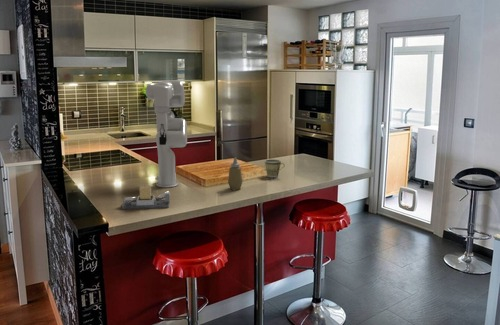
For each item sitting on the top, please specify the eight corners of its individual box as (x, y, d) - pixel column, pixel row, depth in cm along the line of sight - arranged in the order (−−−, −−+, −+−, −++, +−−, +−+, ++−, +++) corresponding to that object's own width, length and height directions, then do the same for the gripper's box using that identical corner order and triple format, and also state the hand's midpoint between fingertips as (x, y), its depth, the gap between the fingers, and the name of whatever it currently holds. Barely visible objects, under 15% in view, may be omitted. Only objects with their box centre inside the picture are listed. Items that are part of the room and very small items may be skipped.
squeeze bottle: (242, 186, 251) (242, 156, 247) (242, 190, 243) (242, 158, 239) (228, 186, 250) (228, 156, 247) (228, 190, 242) (227, 158, 239)
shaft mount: (121, 209, 208) (121, 194, 206) (124, 203, 217) (123, 189, 215) (170, 207, 211) (169, 193, 210) (170, 202, 220) (170, 188, 219)
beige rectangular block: (140, 204, 211) (139, 188, 209) (141, 201, 216) (140, 185, 214) (150, 204, 212) (150, 188, 210) (151, 201, 217) (151, 185, 215)
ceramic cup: (262, 177, 274) (262, 161, 272) (268, 173, 283) (269, 158, 281) (280, 179, 268) (281, 163, 266) (287, 176, 277) (287, 160, 275)
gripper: (155, 108, 230) (156, 140, 234) (153, 111, 213) (154, 146, 217) (169, 108, 231) (170, 140, 235) (169, 111, 214) (170, 145, 218)
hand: (163, 143), depth 226 cm, fingers open, 9 cm apart
